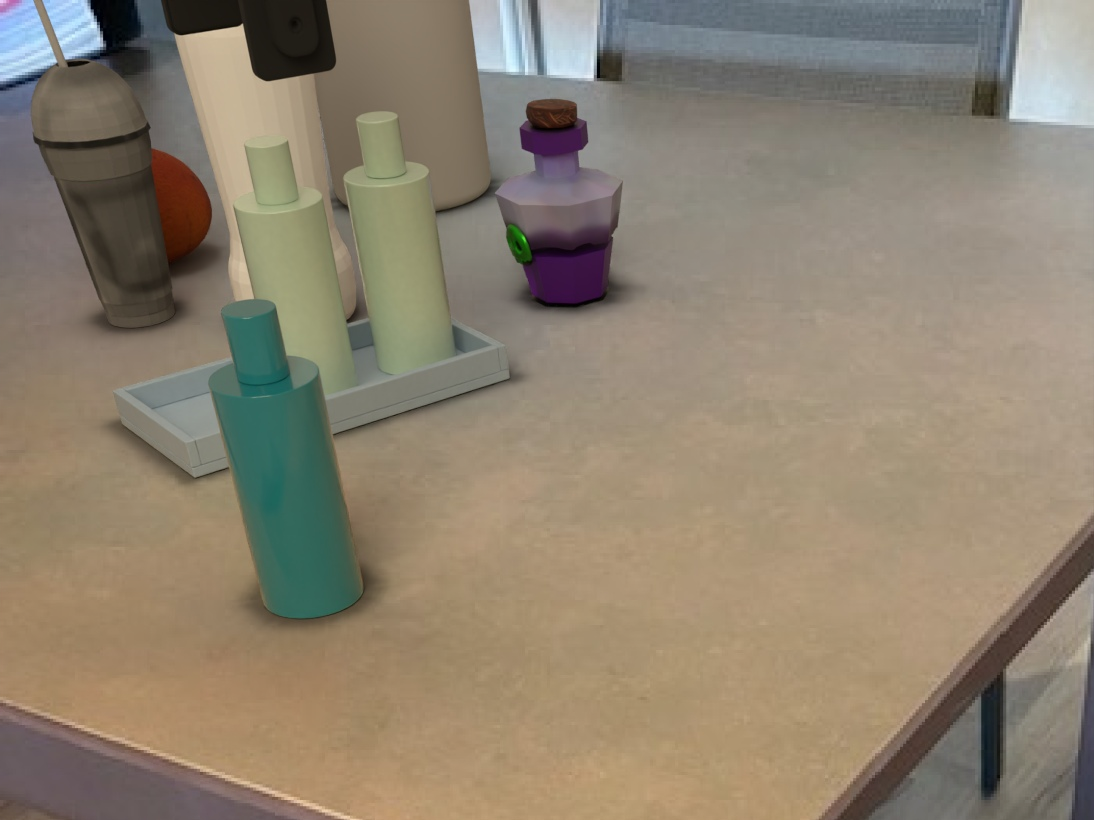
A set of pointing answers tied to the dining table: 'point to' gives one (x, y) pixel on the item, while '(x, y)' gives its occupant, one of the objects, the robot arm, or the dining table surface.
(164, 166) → the fruit
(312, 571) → the loose bottle
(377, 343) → the bottle
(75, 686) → the dining table surface
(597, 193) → the potion bottle
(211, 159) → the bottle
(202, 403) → the tray
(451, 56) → the cylinder vase
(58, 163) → the beverage cup
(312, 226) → the bottle
